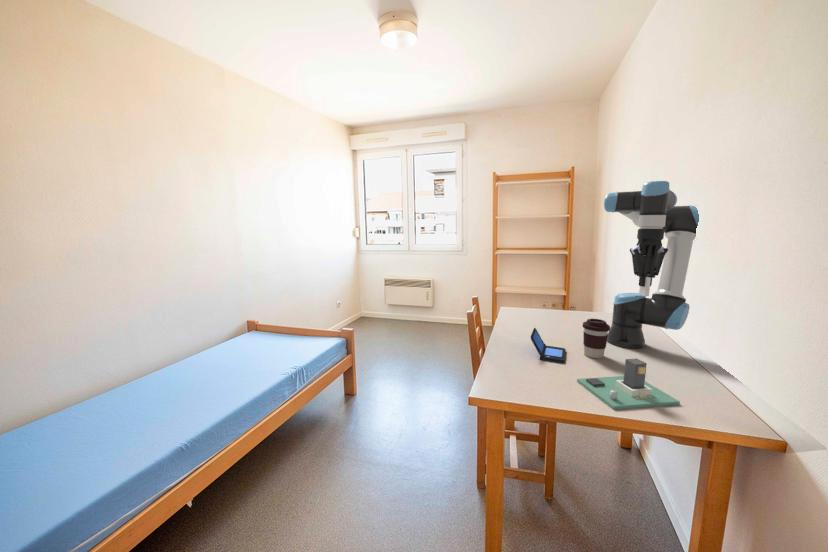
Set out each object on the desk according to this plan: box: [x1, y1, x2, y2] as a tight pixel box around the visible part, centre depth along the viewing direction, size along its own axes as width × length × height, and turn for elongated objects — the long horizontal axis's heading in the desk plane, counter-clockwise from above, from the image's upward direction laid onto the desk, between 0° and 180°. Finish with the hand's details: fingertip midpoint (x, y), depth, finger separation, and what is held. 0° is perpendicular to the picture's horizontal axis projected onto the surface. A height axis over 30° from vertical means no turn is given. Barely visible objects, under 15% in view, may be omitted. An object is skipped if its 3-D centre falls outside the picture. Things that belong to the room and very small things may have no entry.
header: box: [615, 380, 652, 397], centre depth 109 cm, size 7×8×2 cm
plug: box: [623, 358, 647, 389], centre depth 108 cm, size 4×5×10 cm
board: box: [576, 375, 681, 410], centre depth 110 cm, size 22×18×3 cm
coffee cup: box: [582, 318, 611, 359], centre depth 140 cm, size 10×10×15 cm
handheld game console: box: [530, 327, 567, 364], centre depth 142 cm, size 16×13×9 cm
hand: (643, 295), depth 119 cm, fingers closed
